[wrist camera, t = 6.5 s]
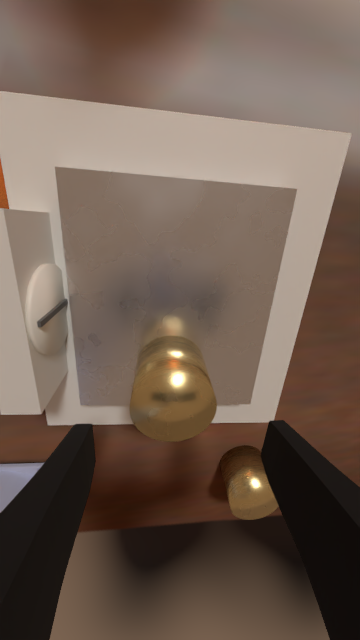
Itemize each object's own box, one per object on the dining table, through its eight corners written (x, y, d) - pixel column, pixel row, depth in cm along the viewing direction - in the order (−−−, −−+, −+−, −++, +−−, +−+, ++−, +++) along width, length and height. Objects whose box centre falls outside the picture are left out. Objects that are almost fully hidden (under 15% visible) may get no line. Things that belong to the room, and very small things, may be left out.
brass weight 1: (136, 392, 16) (130, 442, 13) (136, 334, 15) (128, 372, 11) (200, 392, 17) (211, 440, 13) (207, 336, 15) (222, 373, 12)
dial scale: (56, 408, 20) (18, 479, 14) (10, 107, 13) (-105, 17, 7) (264, 407, 22) (300, 469, 16) (329, 143, 15) (435, 94, 9)
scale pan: (84, 395, 17) (80, 405, 16) (62, 170, 12) (54, 166, 11) (245, 395, 19) (250, 404, 18) (287, 191, 13) (297, 188, 12)
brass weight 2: (217, 476, 25) (227, 520, 21) (222, 445, 23) (234, 487, 20) (257, 475, 26) (274, 518, 22) (266, 444, 24) (285, 485, 20)
